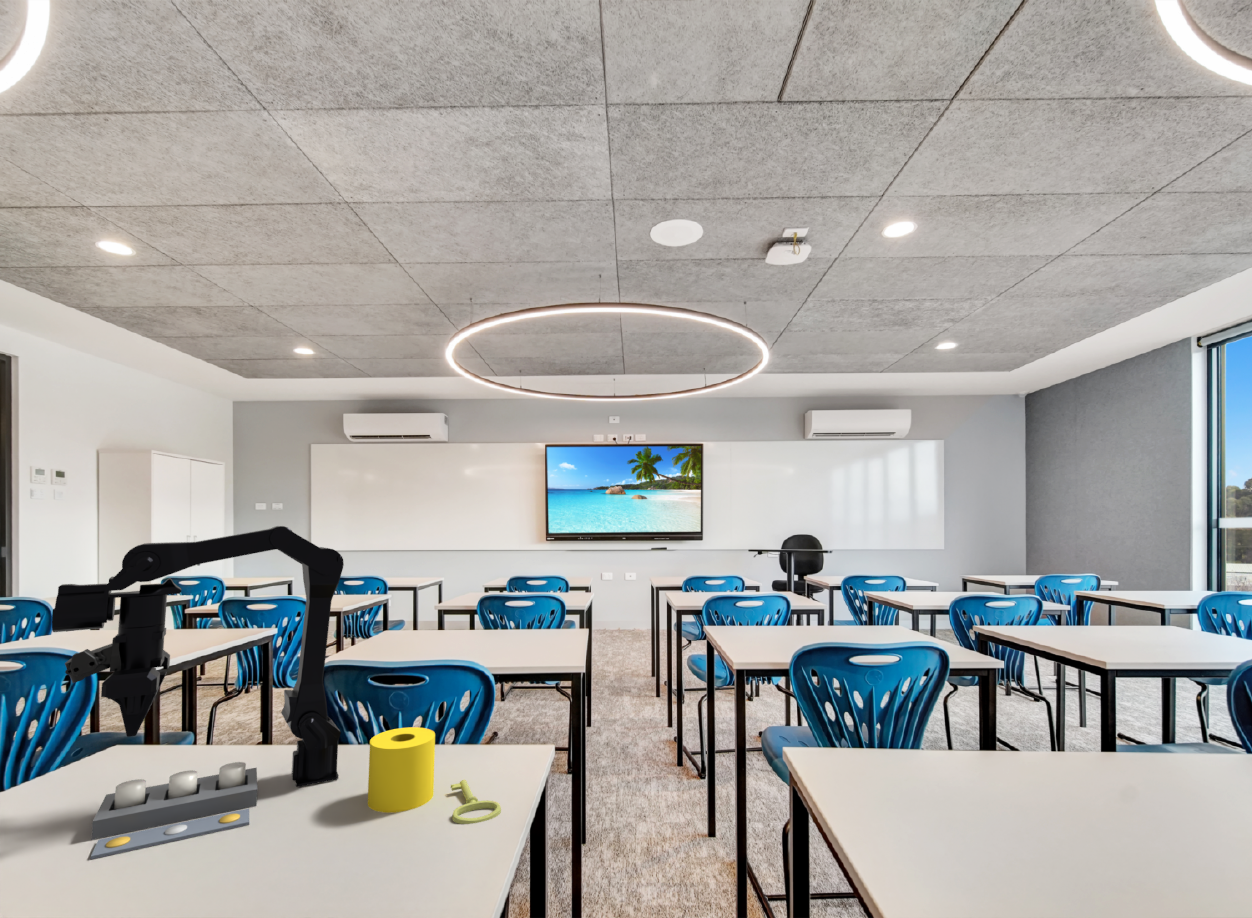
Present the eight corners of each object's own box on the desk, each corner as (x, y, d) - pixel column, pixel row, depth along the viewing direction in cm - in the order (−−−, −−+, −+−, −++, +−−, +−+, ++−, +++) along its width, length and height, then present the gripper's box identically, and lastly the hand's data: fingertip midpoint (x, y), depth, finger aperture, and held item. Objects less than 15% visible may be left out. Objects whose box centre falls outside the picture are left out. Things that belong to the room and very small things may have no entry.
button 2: (244, 779, 103) (245, 760, 103) (244, 787, 100) (245, 767, 100) (218, 784, 101) (219, 764, 101) (217, 792, 98) (219, 772, 98)
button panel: (255, 782, 106) (256, 767, 106) (256, 805, 98) (257, 789, 98) (105, 811, 96) (106, 794, 96) (91, 839, 87) (92, 821, 87)
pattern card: (249, 811, 96) (249, 806, 96) (249, 824, 91) (249, 820, 92) (98, 842, 86) (98, 838, 86) (90, 859, 82) (90, 854, 82)
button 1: (146, 797, 96) (147, 777, 96) (142, 806, 93) (144, 785, 93) (116, 803, 94) (117, 782, 94) (112, 812, 91) (113, 791, 91)
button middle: (197, 788, 99) (198, 768, 100) (195, 796, 96) (196, 776, 96) (169, 793, 97) (170, 773, 98) (166, 802, 94) (168, 781, 95)
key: (464, 791, 104) (464, 777, 104) (506, 816, 95) (506, 801, 95) (424, 805, 99) (424, 791, 99) (464, 833, 90) (465, 817, 90)
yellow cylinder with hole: (353, 805, 97) (355, 743, 98) (398, 781, 107) (400, 724, 108) (403, 817, 94) (405, 752, 95) (446, 790, 103) (447, 731, 104)
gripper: (87, 621, 100) (79, 721, 98) (57, 640, 84) (47, 760, 82) (172, 615, 106) (166, 710, 104) (159, 632, 90) (152, 744, 88)
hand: (135, 729), depth 95 cm, fingers open, 6 cm apart
